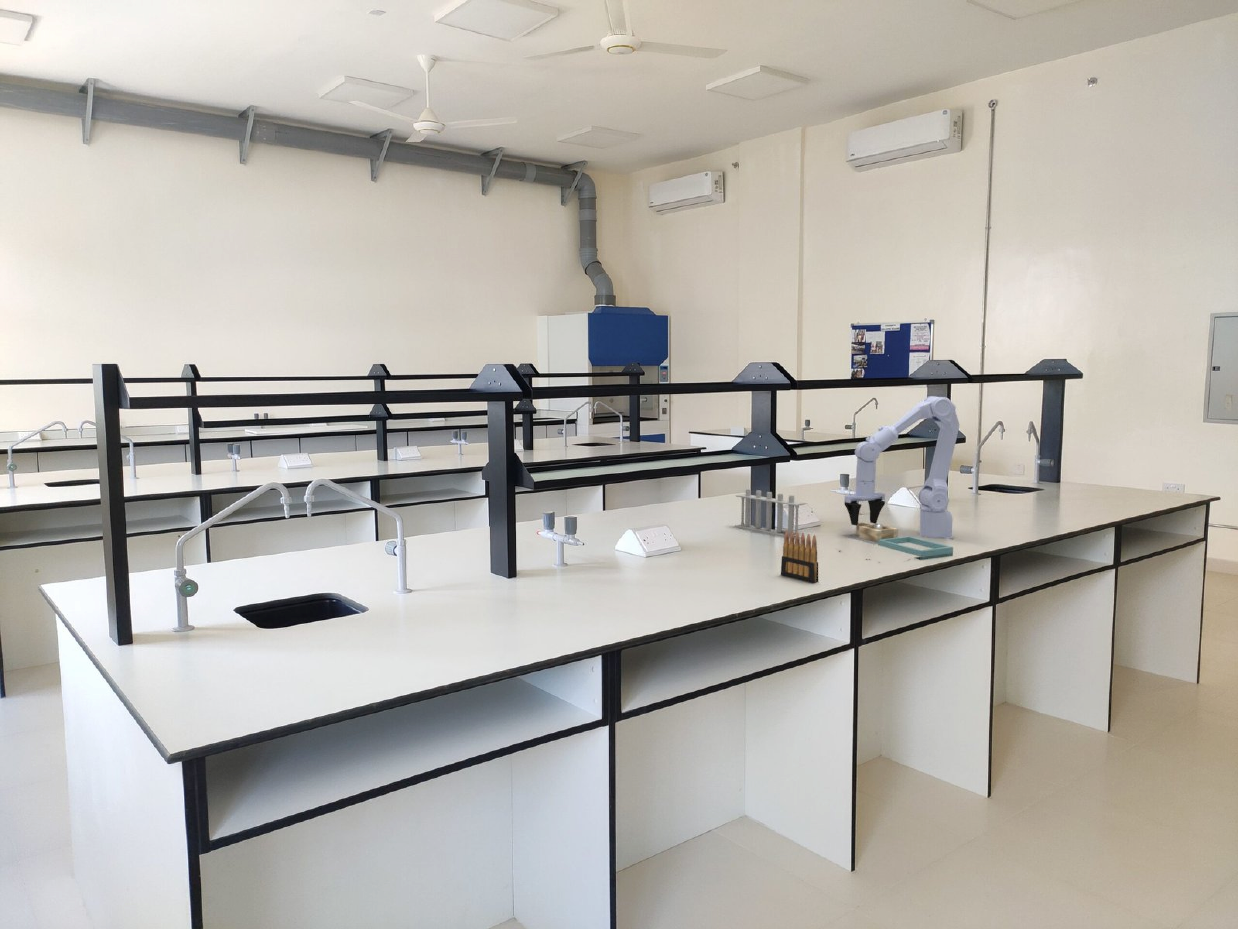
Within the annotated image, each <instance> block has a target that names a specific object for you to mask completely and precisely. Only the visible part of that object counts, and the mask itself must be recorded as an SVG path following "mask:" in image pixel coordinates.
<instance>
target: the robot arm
mask: <svg viewBox="0 0 1238 929" xmlns="http://www.w3.org/2000/svg"><path fill="white" fill-rule="evenodd" d="M956 408H957V406H956V405H955V404H954V403H953V402H952V401H951V399H949V398H948V397H946V396H936V395H931V396H930V395H929V396H927V397H926V398H924V400H921V401H919V402H918V403H917V404H916V405H915V406H913V408H911V409H910V410H909V411H908V412H906V413H905V414H904V415H902V416H901V417H900V418H899V419H898V420H897V421H896V422H894V423H893V424H892V425H884V426H880V427H879V428H877V431H876V432H875V433H874V434H872V435H871V436H870V437H869V436H867V437H866V438H865V441H862V442H861V441H860V442H859V443H858V444H857V445H856V448H855V450H854V455H855V457H856V474H855V475H856V476H855V492H854V493H852V494H849V495H844V506H845V508H846V510H847V513H848V515H849V519H850V524H851V525H852V526H856V525H858V523H859V516H860V510H861V507H862V504H861V503H859V502H867V503H868V509H869V522H870V524H873V525H874V524H878V523H877V522H878V519H879V515H880V514H881V512H882V509H883V508H884V506H885V505H886V493H883V492H876V472H877V471H876V470H877V469H876V468H877V459H878V458H879V456H880V453H882V452H883V451H885V450H886V449H888V448H889V447H890V446H892V445H893V444H894V443H896V442H897V441H898V438H899V434H901V433H902V432H903V431H905V430H907V429H908V428H910V427H911V426H913V425H914V424H915V423H917V422H918V421H920V420H923V419H931V420H933V421H934V422H935V423H936V425H937V426H938V428H939V432H938V435H937V440H936V445H935V449H934V452H933V458H932V461H931V466H930V470H929V474H928V477H927V479H926V480H925V481H924V483H923V486H922V488H921V489H920V491H919V492H918V494H917V496H918V497H917V499H918V501H919V503H920V504H921V506H920V510H919V511H920V513H919V515H920V516H919V536H921V537H923V538H924V537H925V538H931V539H932V538H933V539H936V538H945V539H949V540H951V539H952V540H953V539H954V537H955V536H953V520H954V519H953V515H952V513H951V511H950V510H948V509H947V507H948V506H949V500H950V499H949V495H948V494H949V487H948V483H947V480H948V476H949V472H950V467H951V463H952V460H953V455H954V450H955V445H956V442H957V438H958V433H959V429H960V422H959V419H958V418H959V417H958V415H957V411H956Z"/></svg>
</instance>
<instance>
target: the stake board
mask: <svg viewBox="0 0 1238 929" xmlns="http://www.w3.org/2000/svg"><path fill="white" fill-rule="evenodd" d="M873 525H874V529H877V530H879V529H883V525H884V524H880V523H876V524H874V523H873ZM843 537H844V538H845V537H846V538H849V539H853V540H857V541H861V542H863V543H864V542H865V543H868V544H871V545H878V543H877V542H873V541H870V540H866V539H862V538H859V535H857V534H856V533H854V534H845V535H843Z"/></svg>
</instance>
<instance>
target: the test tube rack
mask: <svg viewBox="0 0 1238 929" xmlns="http://www.w3.org/2000/svg"><path fill="white" fill-rule="evenodd" d="M751 490H752V489H751V488H746V489H745V493H744V494H743V493H742V494H736V495H735V497H737V498H741V522H740V524H737V525H735V526H734V528H735V527H736V528H735V529H739V530H744V531H745V530H746V531H749V532H750V531H751V532H756V533H761V534H767V535H771V536H776V537H782V538H784V536H785V532H783V523H784V522H783V518H784V517H783V515H784V512H783V511H784V505H788V508H787V509H788V512H787V513H788V514H787V515H788V516H787V517H788V519H787V521H788V522H787V530H788V534H789V539H790V534H791V531H793V532H794V540H795V536H796V533H797V532H798V533H799V530H798V529H799V508H800V506H803V505H806V502H799V501H795V498H796V497H795V495H793V494H791V495H788V500H787V499H784V493H777V495H776V496H777V498H773V492H772V491H767V492H766V497H765V496H762V490H757V489H756V491H755V495H752V491H751ZM752 500H755V518H754V520H755V521H754V524H755V525H751V516H752V515H751V509H752V508H751V506H752V505H751V504H752V503H751V502H752ZM762 501H763V502H766V504H765V505H766V509H765V510H766V511H765V512H766V513H765V519H766V520H765V527H762V526H761V524H762ZM773 503H777V505H776V508H777V509H776V510H777V511H776V513H777V514H776V529H772V520H773V519H772V517H773V516H772V515H773V507H772V506H773ZM794 521H795V522H794ZM755 526H756V527H755ZM760 527H762V528H760ZM794 528H795V529H794ZM794 530H795V531H794ZM799 538H800V539H801V536H799Z"/></svg>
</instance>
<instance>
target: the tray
mask: <svg viewBox="0 0 1238 929" xmlns="http://www.w3.org/2000/svg"><path fill="white" fill-rule="evenodd" d="M905 543H911V544H914V545H918V546H921V547H926V548H927V549H917V548H914V547H910V546H908V545H907V546H906V545H903V544H905ZM877 546H881V547H884V548H887V549H891V550H895V551H899V552H903V553H907V554H910V555H914V556H915V557H914V559H916V560H919V561H924V560H932V559H939V558H945V557H953V555H954V547H953V546H950V545H946V544H942V543H938V542H935V541H931V540H926V539H921V538H918V537H914V536H909V535H907V536H899V537H898V538H889V539H881V540H878V544H877ZM916 556H917V557H916Z"/></svg>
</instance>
